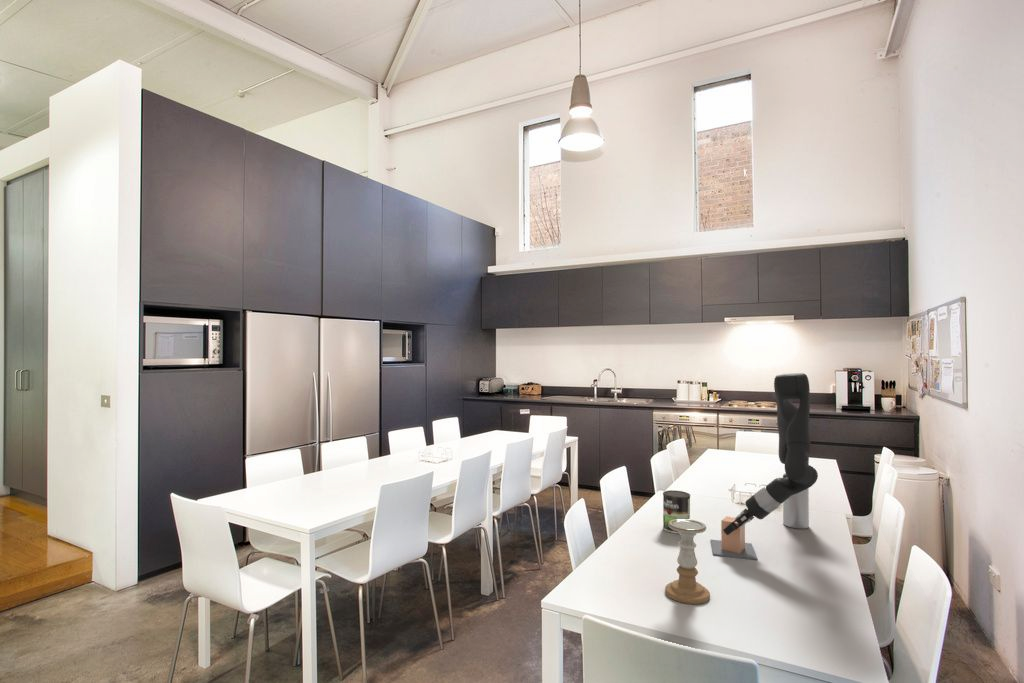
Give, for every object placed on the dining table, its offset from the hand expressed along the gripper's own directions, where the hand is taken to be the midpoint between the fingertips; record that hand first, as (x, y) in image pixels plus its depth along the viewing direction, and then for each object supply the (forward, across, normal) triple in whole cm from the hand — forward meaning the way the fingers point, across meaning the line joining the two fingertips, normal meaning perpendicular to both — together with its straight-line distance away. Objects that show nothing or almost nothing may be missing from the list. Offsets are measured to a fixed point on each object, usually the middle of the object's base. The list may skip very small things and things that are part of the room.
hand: (729, 529), depth 191 cm
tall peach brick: (+4, 0, +6) cm, 7 cm away
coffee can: (+21, -9, -11) cm, 25 cm away
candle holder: (+4, +45, +6) cm, 46 cm away
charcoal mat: (+4, 0, +6) cm, 7 cm away
